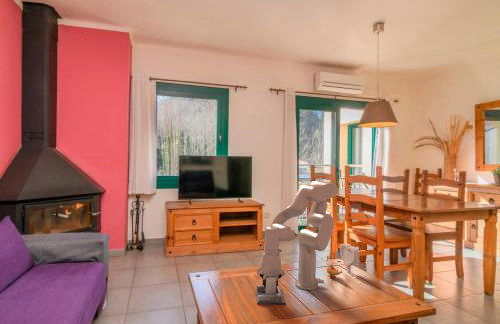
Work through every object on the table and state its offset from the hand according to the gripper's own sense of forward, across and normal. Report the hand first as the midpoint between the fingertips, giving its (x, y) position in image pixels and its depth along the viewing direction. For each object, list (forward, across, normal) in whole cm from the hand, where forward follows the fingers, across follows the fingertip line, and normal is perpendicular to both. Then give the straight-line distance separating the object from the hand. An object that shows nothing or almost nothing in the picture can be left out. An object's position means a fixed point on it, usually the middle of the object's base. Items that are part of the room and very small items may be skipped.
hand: (270, 286), depth 148 cm
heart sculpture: (+5, -53, -33) cm, 63 cm away
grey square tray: (+6, 0, 0) cm, 6 cm away
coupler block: (+2, 0, 0) cm, 2 cm away
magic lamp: (+5, -41, -26) cm, 49 cm away
